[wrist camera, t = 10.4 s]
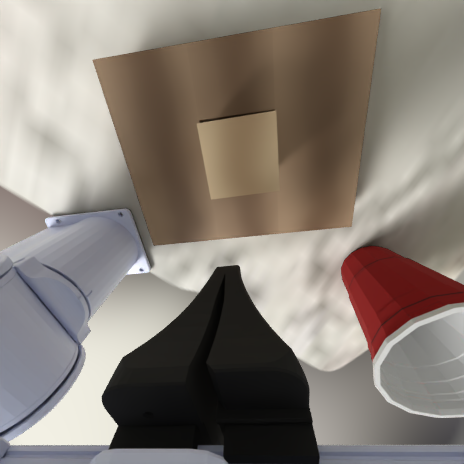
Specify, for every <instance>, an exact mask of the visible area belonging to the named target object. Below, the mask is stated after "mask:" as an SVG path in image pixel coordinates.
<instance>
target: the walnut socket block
mask: <svg viewBox="0 0 464 464" xmlns="http://www.w3.org/2000/svg"><path fill="white" fill-rule="evenodd" d="M380 14H381V9H375V10H369V11H364V12H358V13H353V14H347V15H341V16H336V17H330V18H325V19H319V20H314V21H308V22H302V23H297V24H291V25H286V26H280V27H274V28H269V29H263V30H258V31H252V32H246V33H241V34H235V35H230V36H224V37H218V38H213V39H207V40H202V41H196V42H190V43H185V44H179V45H174V46H168V47H162V48H157V49H151V50H146V51H140V52H134V53H129V54H123V55H118V56H112V57H106V58H101V59H95V60H93V63H94V66H95V69H96V72H97V75H98V78H99V81H100V84H101V87H102V90H103V93H104V96H105V99H106V102H107V106H108V109H109V112H110V115H111V118H112V121H113V124H114V127H115V130H116V133H117V136H118V139H119V142H120V145H121V148H122V151H123V154H124V157H125V160H126V163H127V166H128V169H129V172H130V175H131V178H132V181H133V184H134V188H135V191H136V194H137V197H138V200H139V203H140V206H141V209H142V212H143V215H144V218H145V221H146V224H147V227H148V230H149V233H150V236H151V239H152V242H153V245H154V246H155V245H165V244H176V243H186V242H196V241H207V240H217V239H227V238H238V237H248V236H258V235H269V234H279V233H289V232H300V231H310V230H321V229H331V228H341V227H351V226H352V219H353V212H354V204H355V197H356V190H357V182H358V175H359V168H360V160H361V153H362V146H363V138H364V131H365V124H366V116H367V109H368V102H369V94H370V87H371V80H372V72H373V65H374V58H375V50H376V43H377V36H378V28H379V21H380ZM270 111H276V116H277V140H278V164H279V187H280V191H274V192H266V193H258V194H251V195H243V196H235V197H227V198H220V199H212V200H211V197H210V192H209V186H208V181H207V176H206V171H205V165H204V160H203V155H202V150H201V144H200V139H199V134H198V129H197V123H203V122H209V121H215V120H221V119H227V118H234V117H240V116H246V115H252V114H258V113H264V112H270Z"/></svg>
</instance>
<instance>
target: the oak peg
mask: <svg viewBox="0 0 464 464" xmlns="http://www.w3.org/2000/svg"><path fill="white" fill-rule="evenodd" d="M197 129H198V134H199V139H200V144H201V150H202V155H203V160H204V165H205V171H206V176H207V181H208V186H209V192H210V197H211V200H212V199H220V198H227V197H235V196H243V195H251V194H258V193H266V192H274V191H280V187H279V164H278V140H277V116H276V111H270V112H264V113H258V114H252V115H246V116H240V117H234V118H227V119H221V120H215V121H209V122H203V123H197Z"/></svg>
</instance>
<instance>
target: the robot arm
mask: <svg viewBox="0 0 464 464" xmlns="http://www.w3.org/2000/svg"><path fill="white" fill-rule="evenodd" d="M120 212H121V213H122V214H123V216H122V215H121V214H120ZM59 220H60V221H61V222H60V221H59ZM45 222H46V224H47V226H48V228H47V229H45V230H43V231H41V232H39V233H37V234H35V235H33V236H31V237H29V238H27V239H24V240H22V241H20V242H19V243H16V244H14V245H12V246H10V247H8V248H6V249H4V250H2V251H0V464H464V445H317V442H316V438H315V434H314V430H313V425H312V422H313V421H312V417H311V412H310V408H309V385H308V382H307V379H306V376H305V374H304V372H303V369H302V367H301V365H300V363H299V361H298V360H297V358H296V356H295V354H294V352H293V351H292V349H291V348H290V347H289V346H288V345H287V344H286V343H285V342H284V341H283V340H282V339H281V338H280V337H279V336H278V335H277V334H276V333H275V332H274V330H273V329H272V328H271V327H270V326H269V324H268V323H267V322H266V321H265V319H264V318H263V317H262V316H261V314H260V313H259V311H258V310H257V308H256V307H255V305H254V304H253V302H252V300H251V298H250V297H249V295H248V293H247V291H246V289H245V286H244V284H243V281H242V278H241V272H240V267H239V266H238V265H234V266H224V267H217V268H216V269H215V271H214V272H213V274H212V276H211V277H210V279H209V280H208V282H207V283H206V284H205V286H204V287H203V288H202V290H201V291H200V293H199V294H198V295H197V296H196V298H195V299H194V300H193V301H192V302H191V303H190V305H189V306H188V307H187V308H186V309H185V310H184V311H183V312H182V313H181V314H180V315H179V316H178V317H177V318H176V319H175V320H173V321H172V322H171V323H170V324H169V325H168V326H167V327H165V328H164V329H163V330H162V331H160V332H159V333H158V334H157V335H155V336H154V337H153V338H151V339H150V340H148V341H147V342H146V343H144V344H143V345H141V346H140V347H138V348H137V349H135V350H134V351H132V352H131V353H129V354H127V355H126V356H124V357H123V358H122V360H121V361H120V363H119V365H118V366H117V368H116V370H115V372H114V374H113V376H112V378H111V379H110V381H109V384H108V385H107V387H106V389H105V391H104V393H103V395H102V403H103V405H104V407H105V409H106V410H107V412H108V413H109V414H110V415H111V417H112V418H113V419H114V421H115V422H116V423H117V425H118V428H117V430H116V433H115V435H114V438H113V440H112V442H111V444H110V445H101V446H100V445H61V446H60V445H55V446H53V445H49V446H48V445H45V446H43V445H36V446H35V445H31V446H29V445H26V446H25V445H21V446H20V445H18V446H16V445H14V446H13V445H10V444H9V441H10V440H12V439H14V438H15V437H17V436H19V435H20V434H22V433H24V432H25V431H26V430H27V429H29V428H30V427H32V426H33V425H35V424H36V423H37V422H38V421H40V420H41V419H42V418H43V417H44V416H46V415H47V414H48V413H49V412H50V411H51V410H52V409H53V408H54V407H55V406H56V405H57V404H58V403H59V402H60V401H61V400H62V399H63V397H64V396H65V395H66V394H67V392H68V391H69V390H70V388H71V387H72V385H73V384H74V382H75V380H76V379H77V377H78V376H79V374H80V372H81V370H82V367H83V365H84V362H85V355H86V354H85V349H84V348H83V346H82V345H81V343H82V342H83V341H84V339H85V338H86V337H87V335H88V334H89V333H90V331H91V330H90V329H89V327H88V323H87V322H88V321H89V320H90V318H91V317H92V316H93V315H94V313H95V312H96V311H97V310H98V309H99V307H100V306H101V305H102V304H103V302H104V301H105V300H106V298H107V297H108V296H109V295H110V293H111V292H112V291H113V290H114V289H115V288H116V286H117V285H118V284H119V283H120V281H121V280H122V279H123V278H124V276H125V275H126V274H137V273H147V272H149V271H150V269H151V267H150V264H149V261H148V259H147V256H146V253H145V250H144V247H143V245H142V242H141V239H140V236H139V233H138V230H137V228H136V225H135V222H134V219H133V216H132V214H131V211H130V210H129V209H126V208H124V209H116V210H107V211H98V212H89V213H80V214H71V215H63V216H54V217H48V218H46V219H45ZM141 268H142V269H143V270H142V269H141Z"/></svg>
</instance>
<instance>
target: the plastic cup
mask: <svg viewBox="0 0 464 464" xmlns="http://www.w3.org/2000/svg"><path fill="white" fill-rule="evenodd" d="M341 274H342V280H343V282H344V285H345V287H346V289H347V291H348V294H349V299H350V301H351V303H352V306H353V308H354V311H355V313H356V316H357V318H358V320H359V323H360V325H361V328H362V330H363V333H364V335H365V338H366V340H367V342H368V348H369V350H370V353H371V359H372V361H373V374H374V376H373V378H374V383H375V386H376V388H377V389H378V390H379V391H380V393H381V394H382V395H383V396H384V398H385V399H386V400H387V402H389V403H391V404H393V405H395V406H397V407H399V408H401V409H403V410H405V411H407V412H409V413H414V414H419V415H425V416H431V417H436V418H448V417H464V285H462V284H461V283H459V282H456V281H454V280H452V279H450V278H448V277H446V276H444V275H442V274H440V273H438V272H436V271H434V270H432V269H429V268H427V267H425V266H423V265H421V264H419V263H417V262H415V261H413V260H411V259H409V258H404V257H402V256H400V255H398V254H396V253H394V252H393V251H391V250H389V249H387V248H382V247H378V246H368V247H363V248H360V249H358V250H356V251H354V252H352V253H351V254H350V255H349V256H348V257H347V258H346V259H345V260H344V262H343V265H342V267H341Z"/></svg>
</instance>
